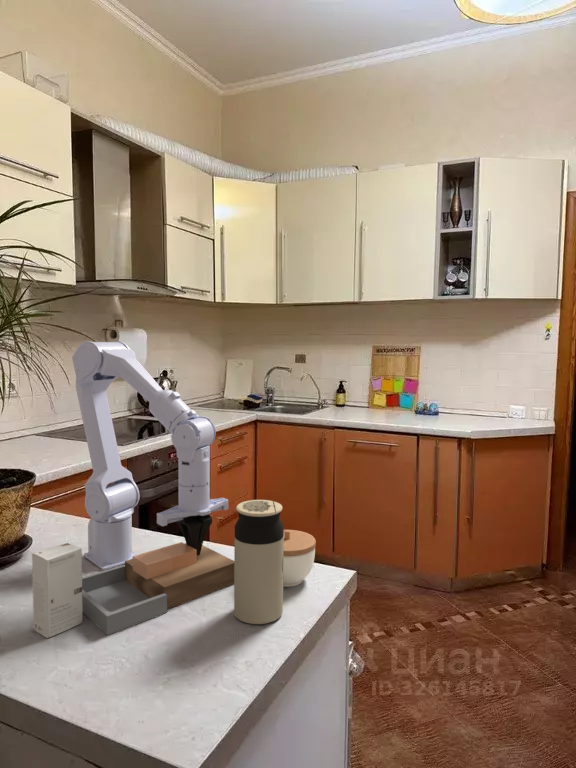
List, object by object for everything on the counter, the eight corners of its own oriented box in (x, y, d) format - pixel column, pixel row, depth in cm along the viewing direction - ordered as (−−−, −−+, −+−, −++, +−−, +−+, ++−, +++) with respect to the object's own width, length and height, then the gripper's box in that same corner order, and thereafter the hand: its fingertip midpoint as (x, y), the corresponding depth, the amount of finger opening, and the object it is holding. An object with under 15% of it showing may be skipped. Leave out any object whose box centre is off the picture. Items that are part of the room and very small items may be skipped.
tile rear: (158, 562, 98) (158, 548, 98) (181, 554, 101) (181, 542, 101) (172, 571, 94) (172, 557, 94) (196, 563, 98) (196, 549, 97)
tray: (67, 598, 92) (67, 581, 92) (123, 580, 99) (122, 564, 99) (107, 635, 81) (107, 616, 80) (167, 612, 88) (166, 594, 87)
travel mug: (230, 625, 84) (231, 513, 83) (237, 600, 92) (238, 498, 91) (281, 627, 84) (282, 514, 82) (284, 602, 92) (285, 499, 90)
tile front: (132, 570, 94) (132, 556, 94) (158, 562, 98) (158, 549, 98) (146, 579, 91) (146, 565, 91) (172, 571, 94) (172, 557, 94)
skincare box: (48, 639, 79) (46, 560, 78) (31, 630, 82) (29, 553, 81) (84, 622, 84) (83, 547, 83) (68, 613, 87) (67, 541, 86)
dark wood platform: (125, 582, 98) (124, 561, 98) (194, 559, 109) (194, 540, 108) (164, 610, 88) (164, 587, 88) (236, 583, 99) (236, 562, 98)
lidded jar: (247, 584, 98) (247, 534, 97) (275, 563, 108) (276, 517, 107) (299, 598, 93) (300, 545, 92) (324, 574, 103) (325, 527, 102)
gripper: (171, 495, 91) (171, 572, 92) (238, 480, 101) (238, 550, 102) (150, 486, 96) (151, 559, 97) (216, 473, 106) (216, 539, 107)
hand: (194, 554), depth 100 cm, fingers closed
